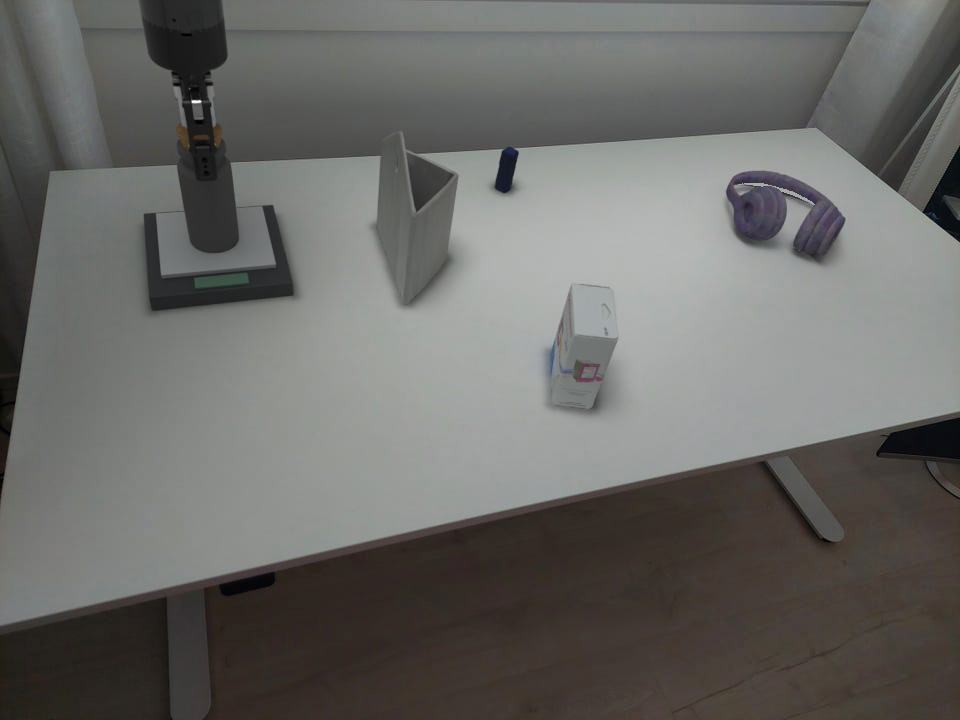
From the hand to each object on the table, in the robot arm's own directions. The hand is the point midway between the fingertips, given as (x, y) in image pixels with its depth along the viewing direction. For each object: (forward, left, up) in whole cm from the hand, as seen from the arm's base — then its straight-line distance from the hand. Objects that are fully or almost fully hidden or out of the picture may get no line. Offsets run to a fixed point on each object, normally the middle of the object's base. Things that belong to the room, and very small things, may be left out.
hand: (203, 157), depth 81 cm
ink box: (+37, -29, -14) cm, 49 cm away
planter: (+25, -5, -14) cm, 29 cm away
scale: (0, -1, -14) cm, 14 cm away
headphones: (+86, -4, -14) cm, 87 cm away
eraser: (+43, +10, -14) cm, 46 cm away
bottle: (0, 0, -11) cm, 11 cm away
